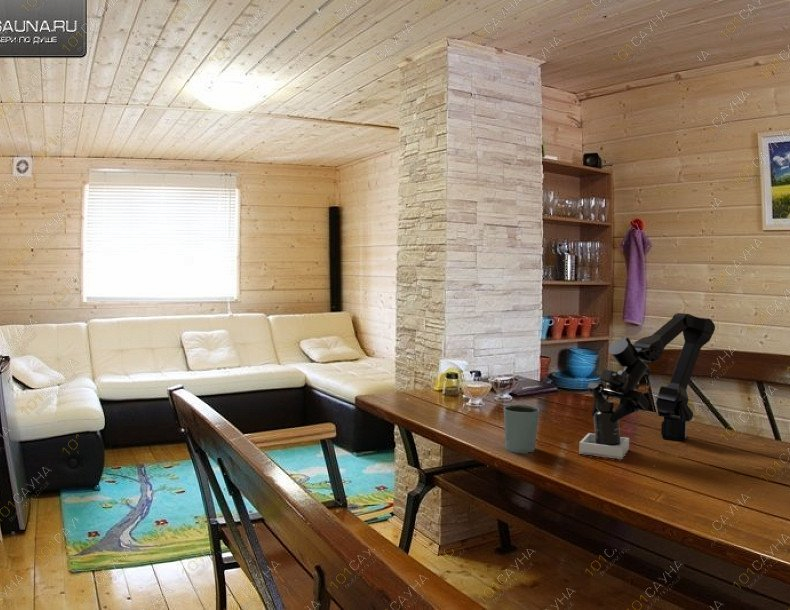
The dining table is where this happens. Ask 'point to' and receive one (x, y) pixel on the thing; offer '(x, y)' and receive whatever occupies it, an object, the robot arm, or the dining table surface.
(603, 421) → the supplement bottle
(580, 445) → the tray
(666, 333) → the robot arm
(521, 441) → the grey-green cup
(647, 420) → the dining table surface
